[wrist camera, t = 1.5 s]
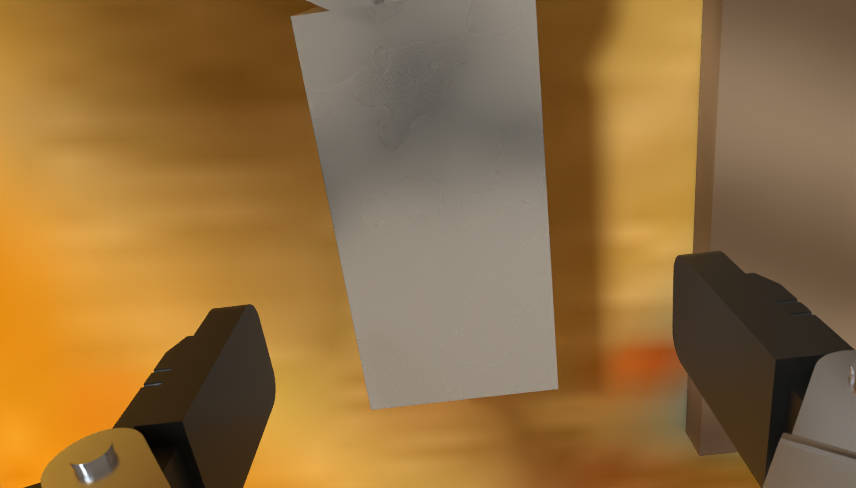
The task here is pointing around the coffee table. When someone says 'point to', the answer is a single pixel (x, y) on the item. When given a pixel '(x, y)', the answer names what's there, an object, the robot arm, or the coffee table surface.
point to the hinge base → (778, 159)
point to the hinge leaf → (436, 191)
